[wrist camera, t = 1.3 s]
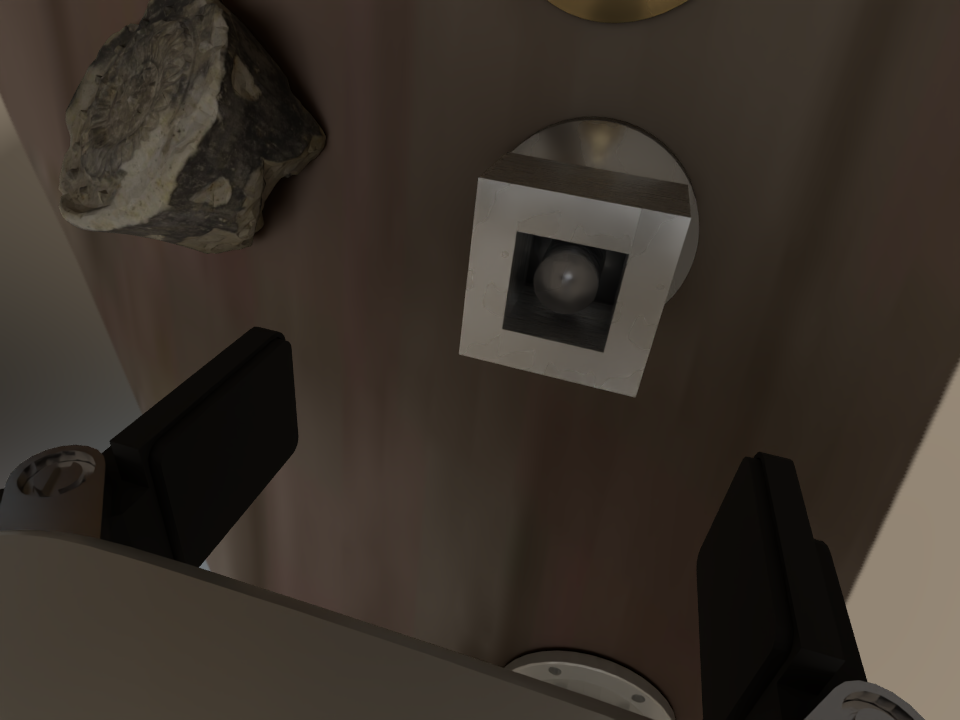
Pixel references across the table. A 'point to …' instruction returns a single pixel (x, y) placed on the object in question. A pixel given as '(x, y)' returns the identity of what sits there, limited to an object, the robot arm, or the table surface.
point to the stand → (585, 269)
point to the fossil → (182, 131)
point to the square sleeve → (583, 220)
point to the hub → (616, 9)
